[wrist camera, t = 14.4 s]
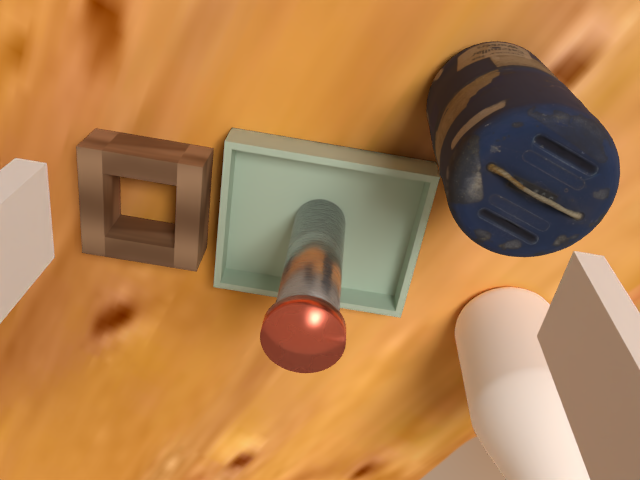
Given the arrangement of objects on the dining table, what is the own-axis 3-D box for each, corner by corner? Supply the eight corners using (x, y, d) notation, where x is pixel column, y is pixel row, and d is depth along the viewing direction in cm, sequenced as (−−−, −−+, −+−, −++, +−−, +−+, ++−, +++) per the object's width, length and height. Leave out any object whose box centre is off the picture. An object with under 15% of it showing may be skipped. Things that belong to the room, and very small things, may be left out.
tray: (231, 127, 51) (224, 140, 48) (436, 162, 51) (439, 177, 49) (220, 268, 58) (213, 286, 55) (399, 298, 58) (400, 317, 56)
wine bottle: (445, 292, 58) (509, 627, 32) (549, 273, 56) (706, 611, 30) (461, 367, 62) (529, 713, 36) (558, 351, 60) (702, 704, 35)
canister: (477, 176, 52) (524, 305, 36) (398, 100, 49) (413, 204, 33) (573, 96, 48) (672, 200, 32) (493, 8, 45) (561, 76, 29)
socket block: (95, 128, 52) (76, 146, 48) (213, 148, 52) (202, 167, 48) (99, 230, 57) (82, 252, 53) (206, 247, 57) (196, 271, 53)
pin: (293, 188, 53) (265, 299, 39) (357, 199, 53) (352, 314, 39) (284, 243, 55) (256, 365, 41) (345, 254, 55) (337, 379, 42)
